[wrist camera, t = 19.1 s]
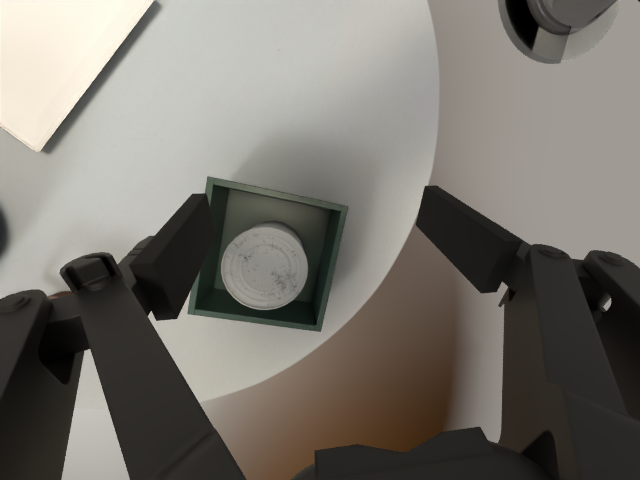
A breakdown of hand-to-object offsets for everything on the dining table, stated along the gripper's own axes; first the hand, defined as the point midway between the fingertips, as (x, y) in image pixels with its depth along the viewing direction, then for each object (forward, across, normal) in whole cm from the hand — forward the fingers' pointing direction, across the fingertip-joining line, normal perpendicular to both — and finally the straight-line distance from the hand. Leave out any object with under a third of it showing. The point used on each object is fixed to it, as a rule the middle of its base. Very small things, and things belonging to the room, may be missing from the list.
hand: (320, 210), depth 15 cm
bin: (+20, -5, -16) cm, 26 cm away
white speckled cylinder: (+20, -5, -16) cm, 26 cm away
